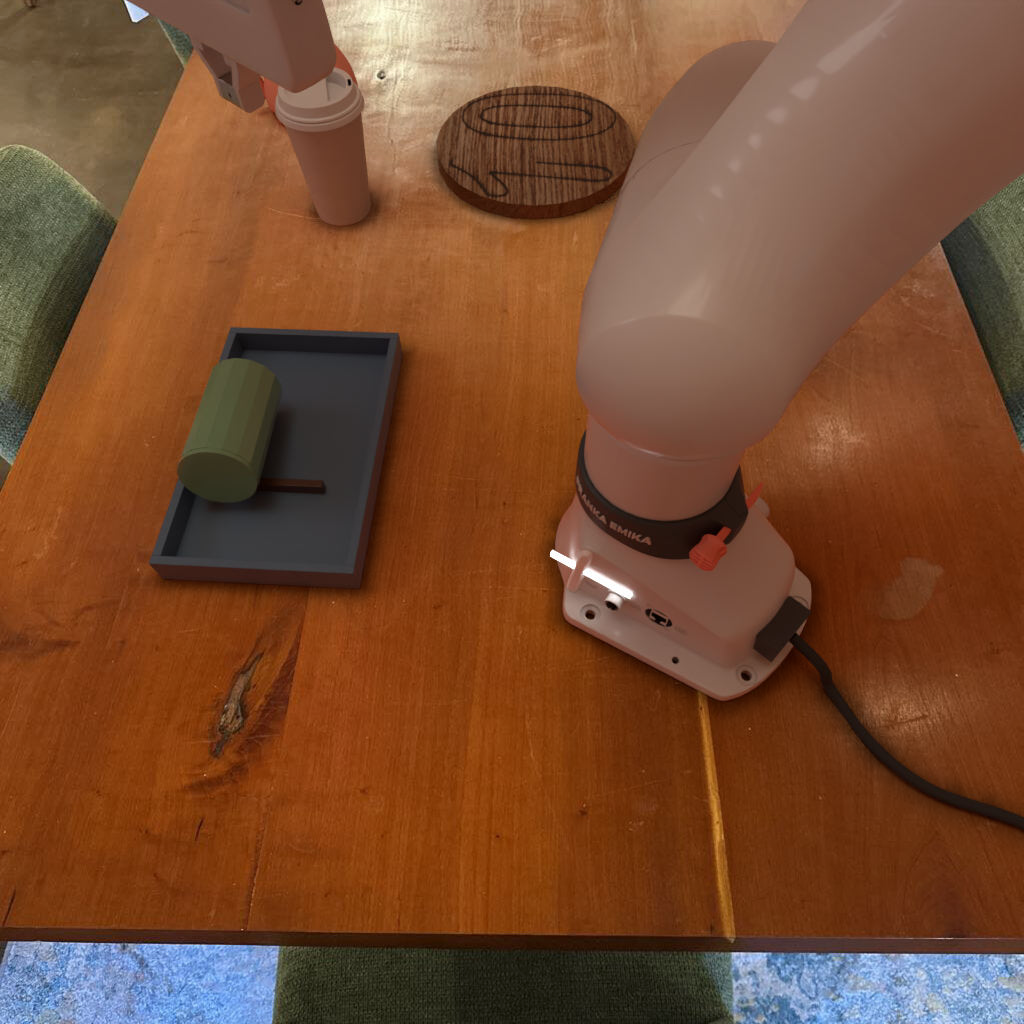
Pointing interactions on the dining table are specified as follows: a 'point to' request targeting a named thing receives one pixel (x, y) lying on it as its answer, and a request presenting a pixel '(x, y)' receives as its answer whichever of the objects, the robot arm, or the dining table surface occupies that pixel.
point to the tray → (297, 467)
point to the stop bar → (291, 485)
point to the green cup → (231, 432)
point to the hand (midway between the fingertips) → (243, 102)
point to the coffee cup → (329, 145)
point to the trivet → (534, 151)
